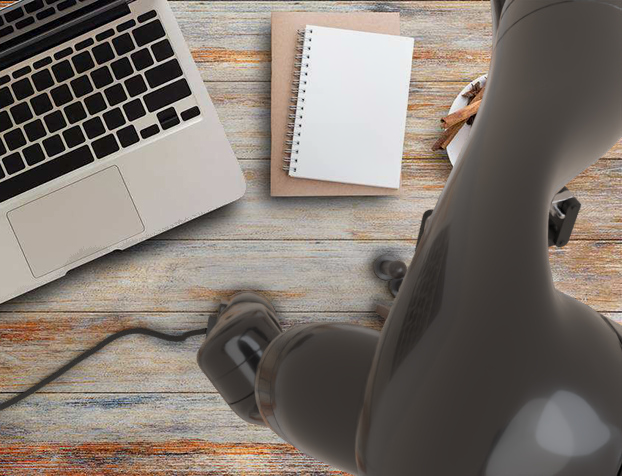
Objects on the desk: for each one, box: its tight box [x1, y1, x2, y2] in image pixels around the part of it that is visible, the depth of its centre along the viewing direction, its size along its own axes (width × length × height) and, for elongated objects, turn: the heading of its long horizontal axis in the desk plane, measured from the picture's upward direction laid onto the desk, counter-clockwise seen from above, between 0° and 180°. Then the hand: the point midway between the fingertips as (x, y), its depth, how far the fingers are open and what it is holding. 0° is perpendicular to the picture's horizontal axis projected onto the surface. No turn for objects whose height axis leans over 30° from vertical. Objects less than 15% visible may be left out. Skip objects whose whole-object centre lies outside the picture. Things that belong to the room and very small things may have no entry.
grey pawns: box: [373, 254, 408, 298], centre depth 83 cm, size 7×6×8 cm
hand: (481, 279), depth 57 cm, fingers open, 8 cm apart
